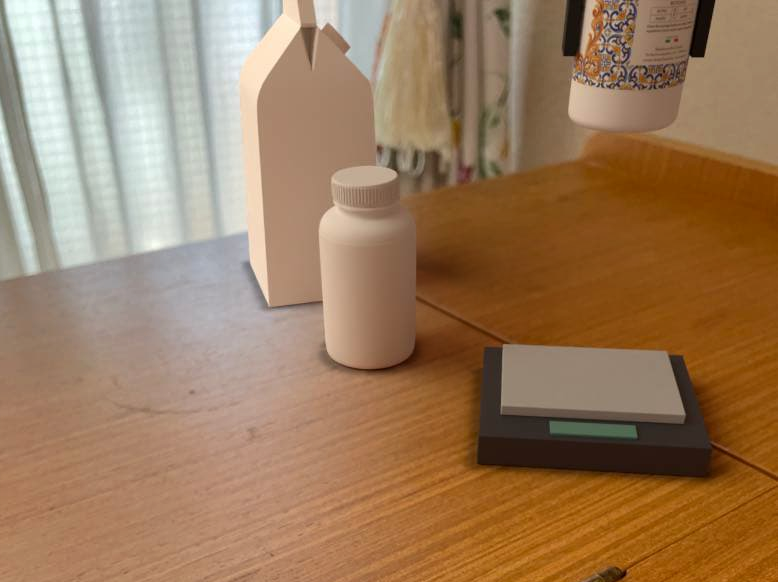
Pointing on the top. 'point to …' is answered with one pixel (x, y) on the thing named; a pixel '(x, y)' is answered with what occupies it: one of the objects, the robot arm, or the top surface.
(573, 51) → the robot arm
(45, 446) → the top surface
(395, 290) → the pill bottle
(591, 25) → the bath foam
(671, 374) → the scale
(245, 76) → the milk
